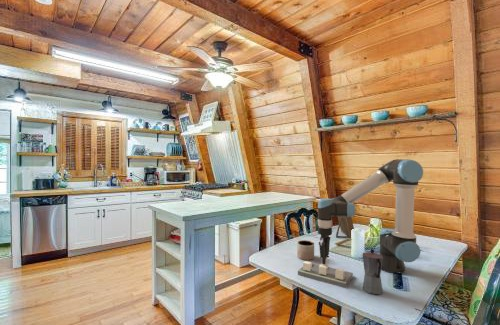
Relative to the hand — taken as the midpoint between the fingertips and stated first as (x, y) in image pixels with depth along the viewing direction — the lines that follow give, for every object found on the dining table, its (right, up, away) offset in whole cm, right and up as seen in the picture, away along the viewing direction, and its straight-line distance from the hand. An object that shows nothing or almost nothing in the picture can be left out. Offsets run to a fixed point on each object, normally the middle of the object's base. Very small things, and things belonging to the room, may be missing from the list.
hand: (324, 269), depth 144 cm
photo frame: (+37, -3, +75) cm, 84 cm away
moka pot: (+20, -5, -16) cm, 25 cm away
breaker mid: (-1, -2, -2) cm, 3 cm away
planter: (-5, -4, +27) cm, 28 cm away
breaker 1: (-9, -1, +3) cm, 9 cm away
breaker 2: (+6, -2, -7) cm, 9 cm away
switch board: (+1, -4, +1) cm, 4 cm away
